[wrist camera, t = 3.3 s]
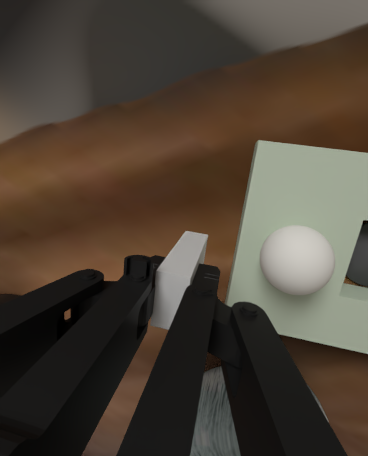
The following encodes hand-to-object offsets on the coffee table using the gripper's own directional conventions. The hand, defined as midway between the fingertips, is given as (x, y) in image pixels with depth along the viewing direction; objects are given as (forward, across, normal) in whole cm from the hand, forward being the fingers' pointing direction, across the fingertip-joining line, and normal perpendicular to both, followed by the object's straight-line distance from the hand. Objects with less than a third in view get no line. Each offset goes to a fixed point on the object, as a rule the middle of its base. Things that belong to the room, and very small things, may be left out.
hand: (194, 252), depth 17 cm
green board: (+8, +12, 0) cm, 15 cm away
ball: (+3, +7, 0) cm, 8 cm away
